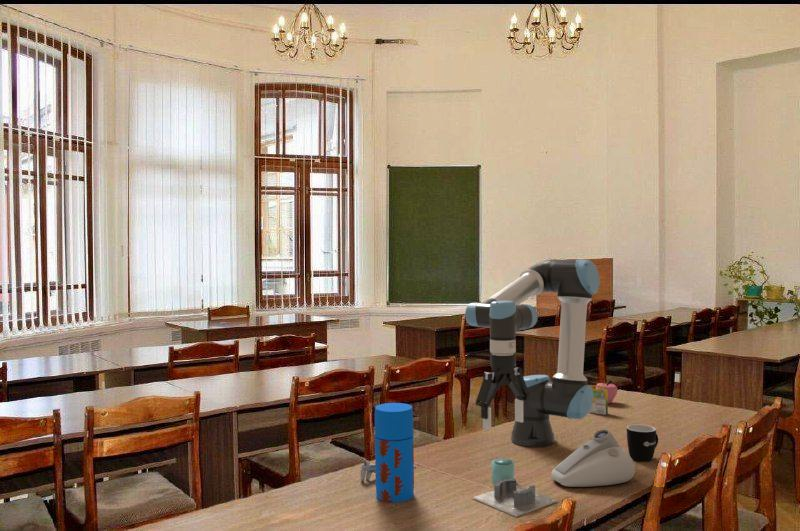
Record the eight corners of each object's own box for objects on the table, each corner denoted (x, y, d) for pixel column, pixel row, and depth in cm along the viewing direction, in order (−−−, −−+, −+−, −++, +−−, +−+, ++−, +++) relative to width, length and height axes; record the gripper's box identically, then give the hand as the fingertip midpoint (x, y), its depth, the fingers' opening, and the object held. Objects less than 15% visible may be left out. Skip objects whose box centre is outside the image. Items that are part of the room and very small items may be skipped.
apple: (604, 399, 302) (604, 377, 302) (621, 403, 295) (621, 380, 295) (591, 403, 296) (591, 380, 295) (609, 406, 289) (609, 383, 289)
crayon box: (608, 413, 278) (607, 385, 278) (606, 415, 276) (605, 386, 275) (590, 411, 282) (590, 383, 282) (588, 412, 279) (587, 384, 279)
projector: (562, 463, 217) (562, 418, 216) (638, 473, 207) (638, 425, 207) (547, 486, 197) (547, 436, 196) (630, 498, 187) (630, 445, 187)
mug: (642, 465, 214) (642, 433, 213) (620, 457, 222) (620, 426, 221) (668, 458, 220) (668, 427, 219) (646, 451, 227) (646, 421, 227)
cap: (487, 481, 201) (487, 460, 201) (502, 476, 205) (502, 456, 205) (503, 487, 196) (503, 466, 196) (518, 482, 200) (518, 461, 200)
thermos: (392, 485, 199) (391, 400, 198) (421, 494, 192) (420, 406, 191) (367, 496, 190) (366, 408, 190) (397, 505, 184) (396, 414, 183)
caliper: (362, 483, 202) (362, 462, 202) (360, 482, 203) (360, 461, 203) (415, 468, 214) (415, 449, 214) (413, 467, 215) (413, 448, 215)
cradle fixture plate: (473, 499, 188) (473, 484, 188) (513, 485, 197) (513, 471, 197) (516, 517, 175) (516, 501, 175) (556, 501, 185) (556, 487, 185)
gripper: (481, 360, 189) (482, 435, 189) (541, 350, 204) (541, 420, 205) (462, 356, 195) (463, 430, 195) (522, 347, 210) (522, 415, 211)
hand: (503, 425), depth 200 cm, fingers open, 13 cm apart
